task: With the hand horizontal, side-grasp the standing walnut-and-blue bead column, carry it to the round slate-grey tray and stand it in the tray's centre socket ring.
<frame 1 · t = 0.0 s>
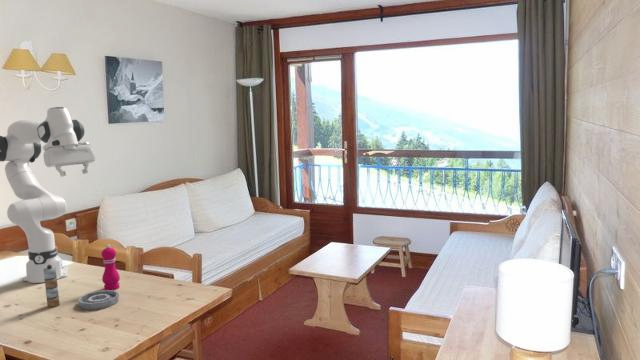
hand: (74, 174, 214), 52 cm above the table, tool tilted 20°, fingers open, 8 cm apart
pepper mill: (111, 288, 227), on the table
tray: (99, 302, 209), on the table
bead column: (53, 305, 208), on the table
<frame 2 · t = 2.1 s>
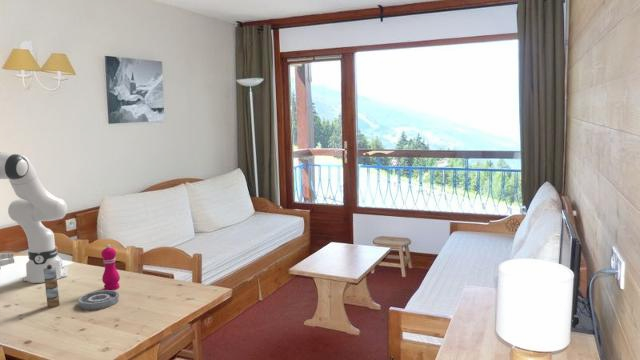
hand: (13, 257, 198), 22 cm above the table, tool horizontal, fingers open, 8 cm apart
nothing on the table moved.
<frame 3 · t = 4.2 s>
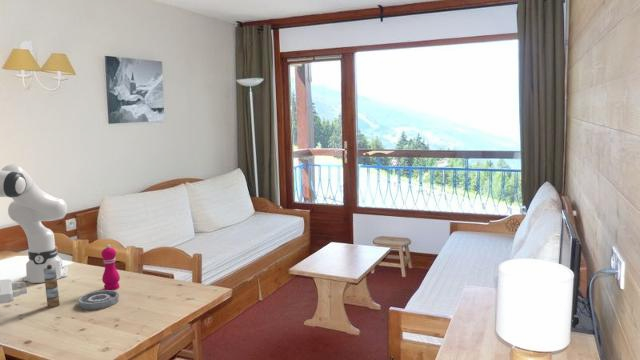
hand: (26, 287, 202), 10 cm above the table, tool horizontal, fingers open, 8 cm apart
nothing on the table moved.
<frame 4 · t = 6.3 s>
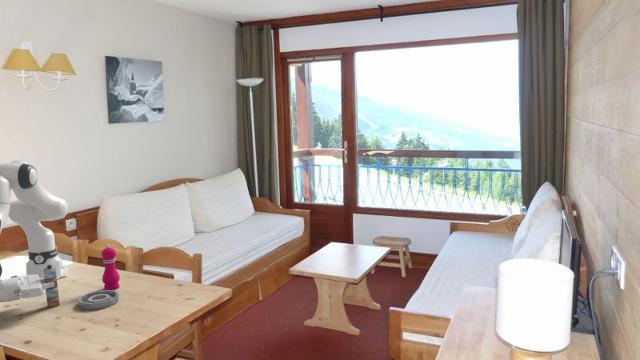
hand: (53, 281, 207), 10 cm above the table, tool horizontal, fingers closed on bead column, 4 cm apart
bead column: (53, 305, 208), on the table, touching gripper
everything else where it was.
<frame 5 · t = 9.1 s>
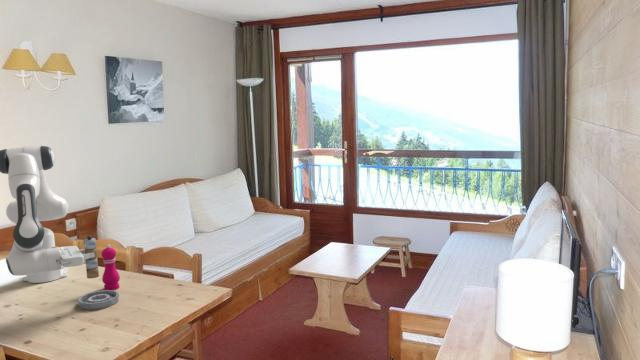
hand: (93, 252, 207), 21 cm above the table, tool horizontal, fingers closed on bead column, 4 cm apart
bead column: (92, 276, 207), point 11 cm above the table, touching gripper
everything else where it was.
when the fingers open (12 cm above the table, at t = 11.9 s): bead column stays where it is, resting on tray.
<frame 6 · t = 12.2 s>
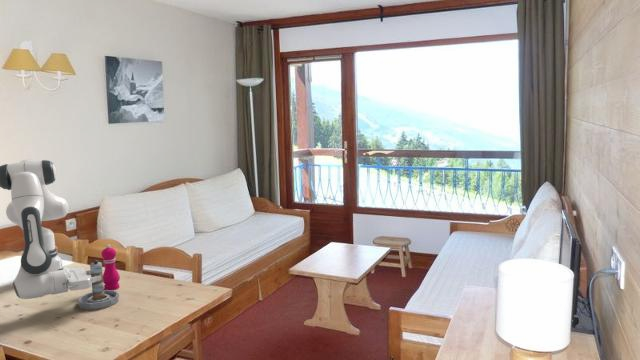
hand: (99, 274, 208), 12 cm above the table, tool horizontal, fingers open, 8 cm apart
bead column: (99, 300, 209), point 1 cm above the table, touching tray
everything else where it was.
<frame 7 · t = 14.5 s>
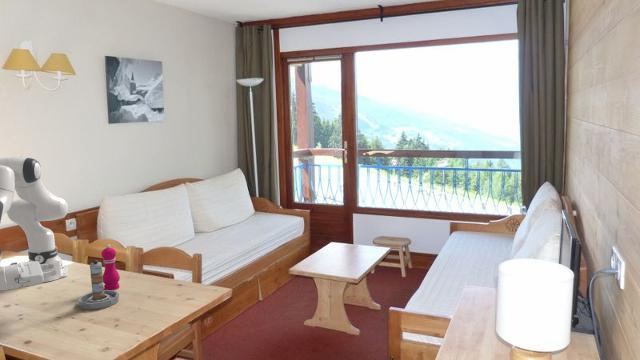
hand: (54, 269, 201), 17 cm above the table, tool horizontal, fingers open, 8 cm apart
nothing on the table moved.
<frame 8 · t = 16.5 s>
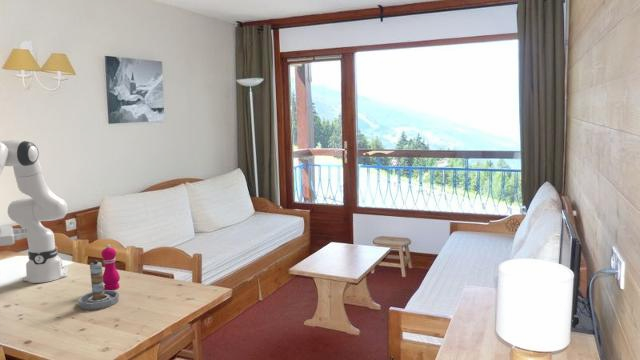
hand: (27, 232, 198), 32 cm above the table, tool horizontal, fingers open, 8 cm apart
nothing on the table moved.
at the end: bead column 0.1 cm off-centre on the tray, point 1.0 cm above the tray's base; bead column tilted 0°; the gripper is holding nothing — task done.
